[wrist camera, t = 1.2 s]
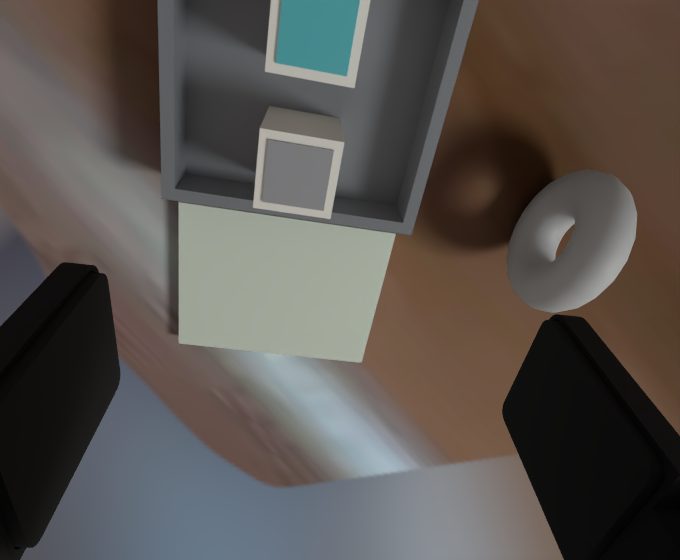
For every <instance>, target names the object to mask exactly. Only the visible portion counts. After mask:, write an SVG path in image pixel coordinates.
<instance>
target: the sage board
mask: <svg viewBox="0 0 680 560" xmlns="http://www.w3.org/2000/svg"><path fill="white" fill-rule="evenodd" d="M395 235H396V233H393V232H386V231H379V230H372V229H366V228H359V227H352V226H345V225H338V224H331V223H324V222H318V221H311V220H304V219H297V218H290V217H283V216H276V215H270V214H263V213H256V212H249V211H242V210H235V209H228V208H222V207H215V206H208V205H201V204H194V203H187V202H180V201H179V343H181V344H190V345H199V346H209V347H218V348H228V349H237V350H247V351H256V352H265V353H275V354H284V355H294V356H303V357H312V358H322V359H331V360H341V361H350V362H359V363H361V362H362V359H363V355H364V351H365V347H366V344H367V340H368V336H369V332H370V329H371V325H372V321H373V317H374V314H375V310H376V306H377V302H378V299H379V295H380V291H381V287H382V284H383V280H384V276H385V272H386V269H387V265H388V261H389V257H390V254H391V250H392V246H393V242H394V239H395Z"/></svg>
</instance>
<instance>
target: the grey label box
mask: <svg viewBox="0 0 680 560" xmlns="http://www.w3.org/2000/svg"><path fill="white" fill-rule="evenodd" d="M344 143H345V142H344V137H343V132H342V127H341V123H340V118H336V117H330V116H324V115H319V114H313V113H308V112H302V111H296V110H291V109H285V108H279V107H274V106H269V108H268V110H267V113H266V115H265V117H264V119H263V122H262V124H261V126H260V132H259V143H258V154H257V166H256V177H255V189H254V200H253V208H258V209H265V210H272V211H278V212H285V213H292V214H299V215H306V216H312V217H319V218H326V219H331V214H332V208H333V203H334V197H335V192H336V187H337V181H338V176H339V170H340V165H341V159H342V154H343V148H344Z"/></svg>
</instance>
